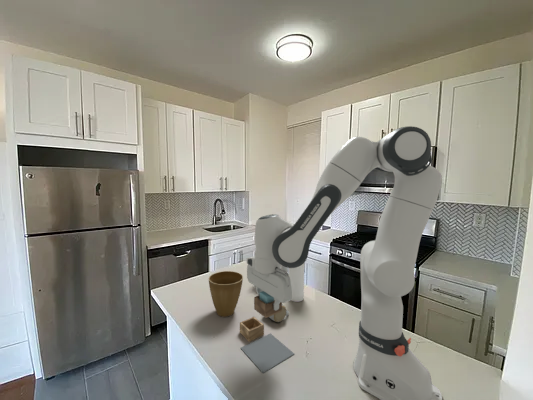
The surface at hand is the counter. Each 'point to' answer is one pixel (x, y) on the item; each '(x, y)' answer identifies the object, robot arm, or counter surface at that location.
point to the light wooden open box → (251, 328)
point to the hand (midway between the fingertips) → (267, 304)
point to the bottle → (297, 282)
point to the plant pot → (225, 291)
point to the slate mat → (267, 352)
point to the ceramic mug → (280, 315)
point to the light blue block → (266, 297)
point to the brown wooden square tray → (265, 307)
